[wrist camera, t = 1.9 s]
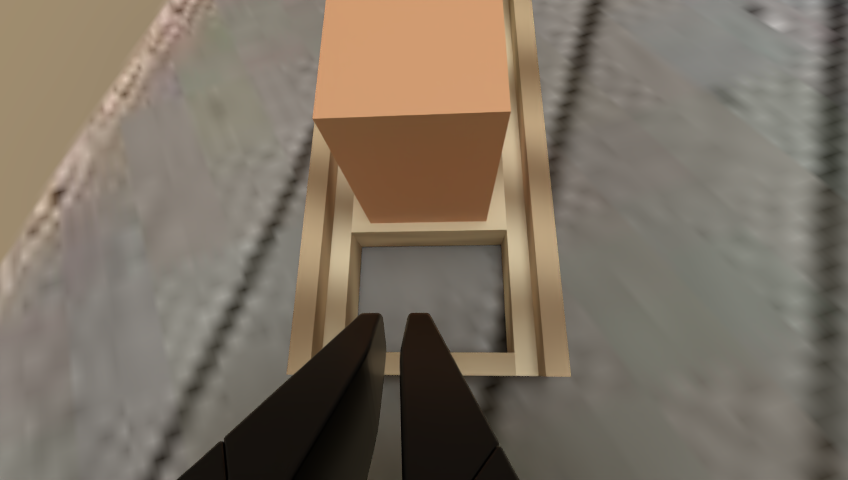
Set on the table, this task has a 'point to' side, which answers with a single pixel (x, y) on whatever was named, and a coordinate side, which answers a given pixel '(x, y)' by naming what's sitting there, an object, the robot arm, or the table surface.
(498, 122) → the terracotta block
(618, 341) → the table surface
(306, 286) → the wooden compartment tray
